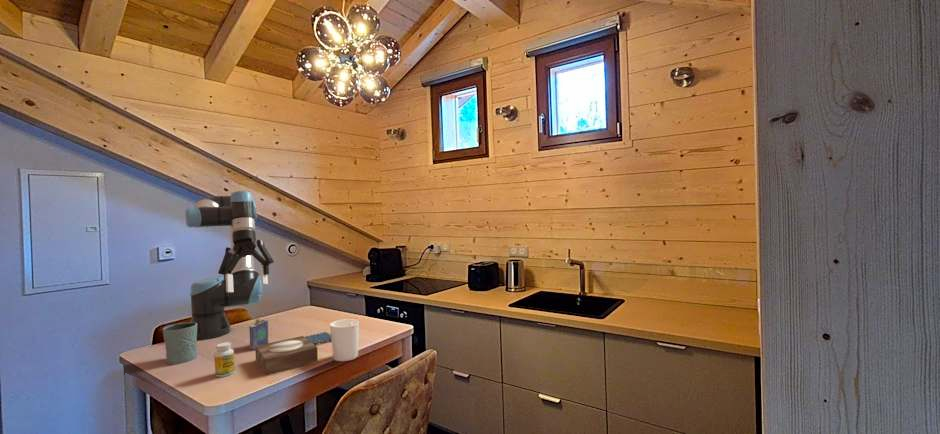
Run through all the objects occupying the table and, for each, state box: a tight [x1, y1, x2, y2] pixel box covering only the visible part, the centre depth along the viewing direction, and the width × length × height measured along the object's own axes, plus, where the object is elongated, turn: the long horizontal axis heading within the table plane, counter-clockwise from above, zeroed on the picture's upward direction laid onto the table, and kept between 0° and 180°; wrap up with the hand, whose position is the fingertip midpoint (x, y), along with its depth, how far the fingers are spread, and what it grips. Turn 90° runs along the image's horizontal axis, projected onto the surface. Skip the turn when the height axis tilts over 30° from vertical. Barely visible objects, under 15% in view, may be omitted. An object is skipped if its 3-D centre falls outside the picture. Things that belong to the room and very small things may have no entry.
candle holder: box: [329, 318, 360, 362], centre depth 144 cm, size 10×10×12 cm
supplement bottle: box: [213, 341, 236, 378], centre depth 132 cm, size 5×5×10 cm
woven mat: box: [304, 331, 332, 347], centre depth 162 cm, size 10×11×2 cm
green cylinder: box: [161, 321, 198, 365], centre depth 145 cm, size 10×10×12 cm
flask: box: [248, 318, 269, 351], centre depth 157 cm, size 9×3×11 cm, turn 172°
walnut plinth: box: [254, 335, 319, 376], centre depth 141 cm, size 16×16×5 cm
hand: (247, 288), depth 148 cm, fingers open, 13 cm apart
